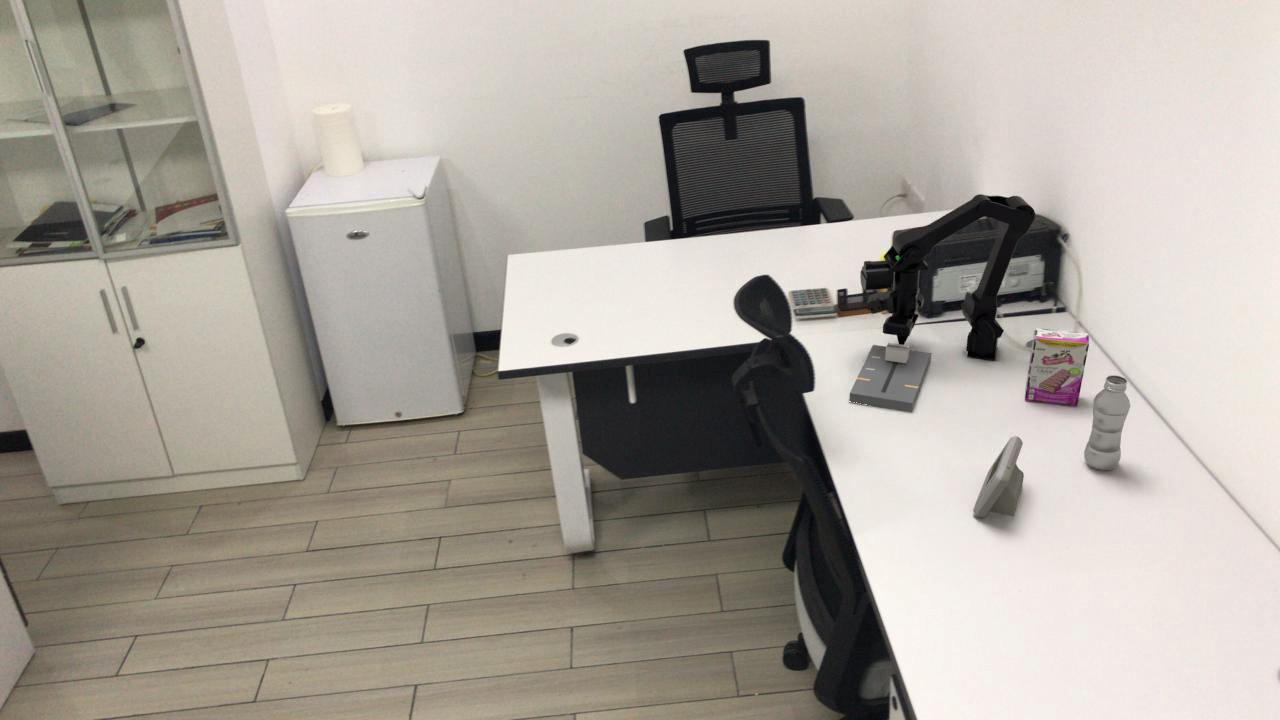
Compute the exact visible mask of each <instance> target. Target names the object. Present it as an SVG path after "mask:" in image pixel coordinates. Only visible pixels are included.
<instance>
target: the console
mask: <svg viewBox="0 0 1280 720" xmlns="http://www.w3.org/2000/svg"><path fill="white" fill-rule="evenodd" d="M886 347H887V345H878V344H872V346H871V348H870V350H869V351H868V355H867V356H866V359H865V360H864V363H863V365H862V367H861V369H860V371H859V372H858V375H857V377H856V379H855V381H854V384H853V386H852V388H851V390H850V392H849V399H848V400H849V401H851V402H855V403H854V404H856V402H857V403H861V404H860V405H862V404H867V405H866V406H868V405H871V406H870V407H876V408H881V409H888V410H894V411H900V412H907V413H912V412H913V410H914V407H915V406H916V405H915V404H916V402H917V400H918V397H919V394H920V391H921V389H922V386H923V383H924V380H925V378H926V375H927V372H928V369H929V367H930V365H931V359H932V352H928V351H920V350H914V349H909V358H908V361H907V363H900V362H893V361H887V360H885V354H886ZM849 401H848V402H849Z"/></svg>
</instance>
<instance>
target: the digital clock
mask: <svg viewBox="0 0 1280 720" xmlns="http://www.w3.org/2000/svg"><path fill="white" fill-rule="evenodd" d="M1023 445H1024V444H1023V441H1022V439H1021V438H1020V437H1019V436H1018V435H1015V436H1011V437H1009V439H1008V440H1007V442H1006V444H1005V445H1004V447H1003V448H1002V450H1001V451H1000V453H999V454H998V456H997V457H996V458H995V460H994V462H993V464H992V465H991V466H990V468H989V469H988V472H987V474H986V477H985V479H984V481H983V484H982V486H981V488H980V491H979V494H978V497H977V499H976V502H975V504H974V506H973V509H972V511H973V513H974V516H975V517H977V518H985V517H986V516H987V515H988V513H989V512H992V513H996V514H1000V515H1005V516H1008V517H1013V516H1014V514H1015V511H1016V509H1017V508H1016V507H1017V505H1018V502H1019V499H1020V497H1021V494H1022V490H1023V484H1024V483H1023V482H1024V478H1025V475H1024V472H1023V471H1022V470H1021V469H1020V468H1019V467H1018V465H1017V461H1018V459H1019V455H1020V453H1021V450H1022V447H1023Z"/></svg>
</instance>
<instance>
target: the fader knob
mask: <svg viewBox="0 0 1280 720" xmlns="http://www.w3.org/2000/svg"><path fill="white" fill-rule="evenodd" d="M909 350H910V345H907V344H904V345H901V344H899V343H893V342H888V343H887V345H886V354H885V360H887V361H893V362H900V363H907V361H908V358H909Z"/></svg>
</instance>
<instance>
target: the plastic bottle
mask: <svg viewBox="0 0 1280 720" xmlns="http://www.w3.org/2000/svg"><path fill="white" fill-rule="evenodd" d="M1127 384H1128V380H1127V379H1126V377H1123V376H1121V375H1116V374H1115V375H1114V374H1113V375H1108V376H1107V377H1106V378H1105V381H1104V384H1103V389H1102V390H1100V391H1099V392H1098V393H1097V394H1096V395H1095V396H1094V398H1093V401H1092V426H1091V431H1090V435H1089V437H1088V441H1087V442H1086V444H1085V448H1084V452H1083V453H1084V454H1083V455H1084V460H1085V462H1086V464H1087V465H1088V466H1089V467H1091V468H1093V469H1096V470H1100V471H1110V470H1113V469H1115V468H1116V467H1117V466H1118V465H1119V463H1120V460H1121V458H1122V456H1121V455H1122V450H1121V442H1122V440H1121V439H1122V433H1123V429H1124V425H1125V423H1126V420H1127V416H1128V415H1129V411H1130V408H1131V402H1130V399H1129V397H1128V395H1127V394H1126V391H1127Z"/></svg>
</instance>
